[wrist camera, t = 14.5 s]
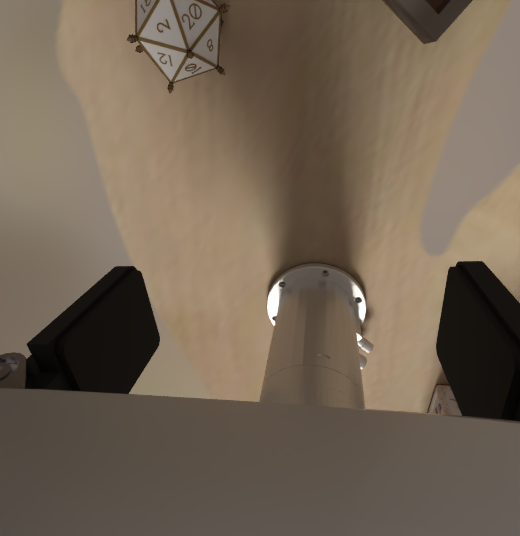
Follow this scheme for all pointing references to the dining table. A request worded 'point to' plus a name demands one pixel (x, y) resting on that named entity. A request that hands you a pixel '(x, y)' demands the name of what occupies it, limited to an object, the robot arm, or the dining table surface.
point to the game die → (179, 36)
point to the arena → (427, 15)
